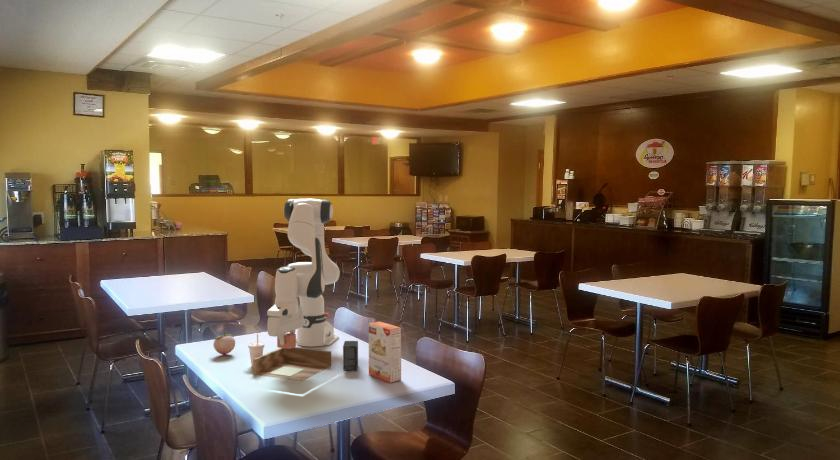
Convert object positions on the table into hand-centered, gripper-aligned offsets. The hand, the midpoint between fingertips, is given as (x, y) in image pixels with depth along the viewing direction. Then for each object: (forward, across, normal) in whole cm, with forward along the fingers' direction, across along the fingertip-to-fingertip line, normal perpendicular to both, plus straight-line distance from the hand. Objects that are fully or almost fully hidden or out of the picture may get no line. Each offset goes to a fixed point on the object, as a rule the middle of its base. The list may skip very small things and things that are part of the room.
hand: (286, 342), depth 235 cm
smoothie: (+12, -2, -16) cm, 21 cm away
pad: (+12, 0, 0) cm, 12 cm away
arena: (+12, -3, +1) cm, 13 cm away
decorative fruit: (+12, -12, -40) cm, 44 cm away
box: (+13, -16, +20) cm, 29 cm away
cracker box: (+13, -10, +38) cm, 41 cm away
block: (+2, 0, 0) cm, 2 cm away
